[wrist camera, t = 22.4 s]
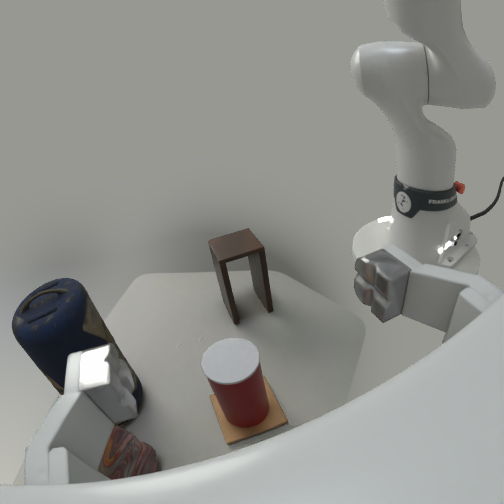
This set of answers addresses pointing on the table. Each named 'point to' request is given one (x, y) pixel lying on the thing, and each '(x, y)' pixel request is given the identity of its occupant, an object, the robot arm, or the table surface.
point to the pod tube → (237, 381)
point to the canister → (62, 329)
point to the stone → (126, 456)
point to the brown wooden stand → (234, 249)
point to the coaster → (239, 433)
